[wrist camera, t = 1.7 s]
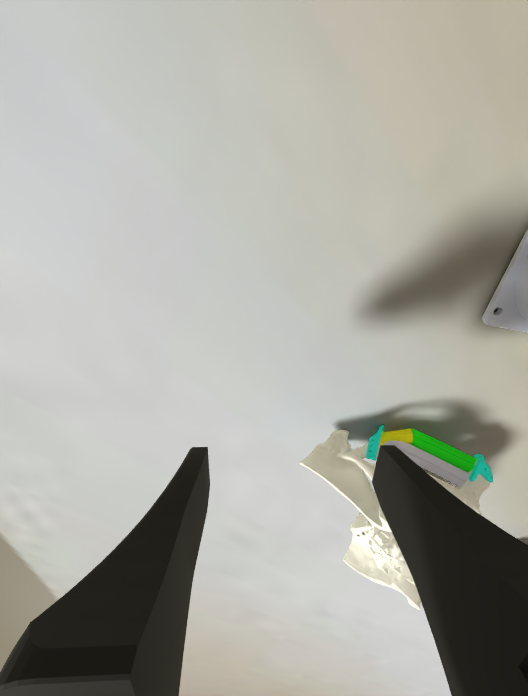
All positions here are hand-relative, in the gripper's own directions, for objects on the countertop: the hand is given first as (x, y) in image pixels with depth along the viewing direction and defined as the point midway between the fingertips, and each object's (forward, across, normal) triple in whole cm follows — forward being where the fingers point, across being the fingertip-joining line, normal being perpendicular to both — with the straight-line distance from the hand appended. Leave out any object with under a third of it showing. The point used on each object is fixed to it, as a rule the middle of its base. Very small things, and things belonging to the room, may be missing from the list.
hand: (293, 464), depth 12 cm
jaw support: (+10, -10, +9) cm, 17 cm away
